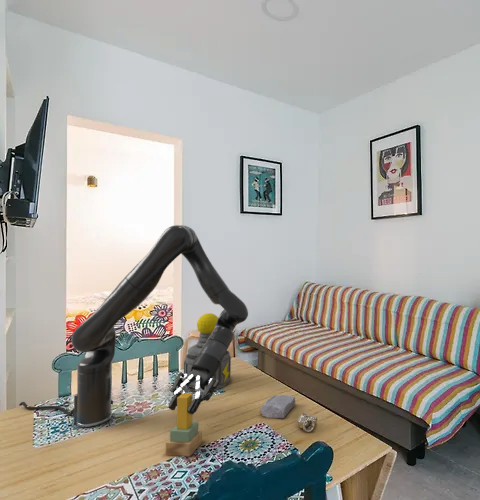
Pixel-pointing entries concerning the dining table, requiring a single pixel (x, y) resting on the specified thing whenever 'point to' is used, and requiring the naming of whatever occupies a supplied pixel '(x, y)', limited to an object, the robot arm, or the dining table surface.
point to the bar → (184, 411)
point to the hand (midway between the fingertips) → (180, 411)
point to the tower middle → (184, 433)
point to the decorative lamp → (205, 328)
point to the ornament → (306, 422)
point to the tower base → (184, 446)
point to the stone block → (278, 406)
